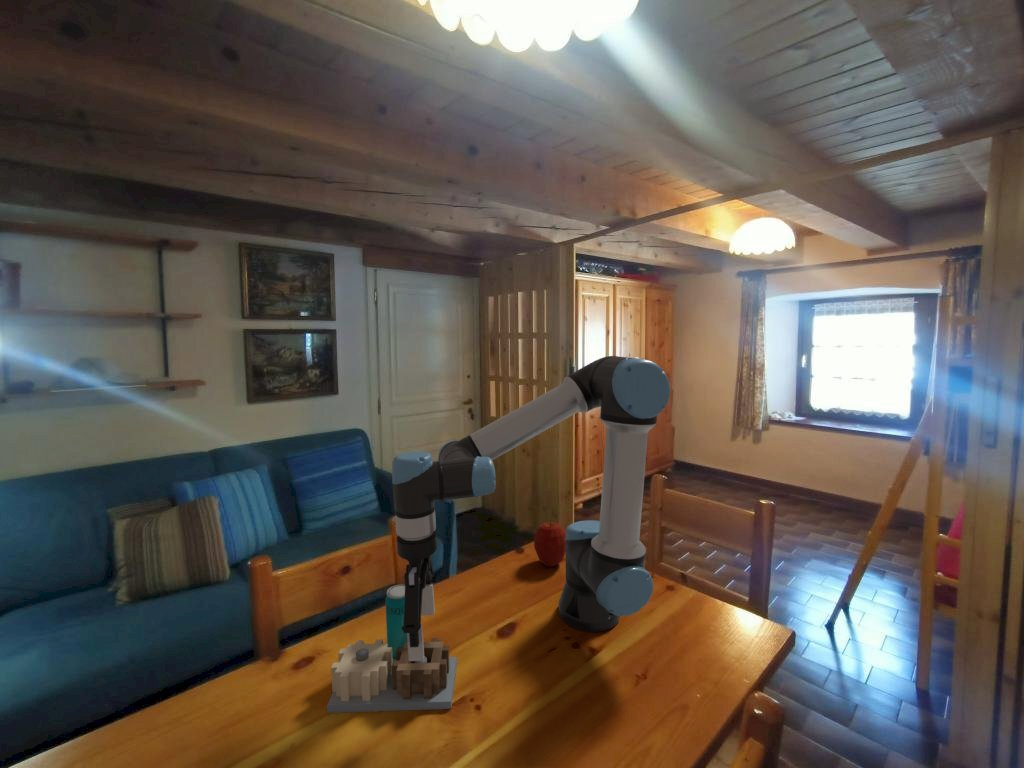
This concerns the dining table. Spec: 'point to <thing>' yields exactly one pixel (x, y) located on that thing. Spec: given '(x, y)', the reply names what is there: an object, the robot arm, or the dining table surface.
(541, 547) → the apple
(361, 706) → the gear board
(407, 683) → the walnut gear
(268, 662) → the dining table surface
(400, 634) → the beverage can
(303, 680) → the dining table surface
